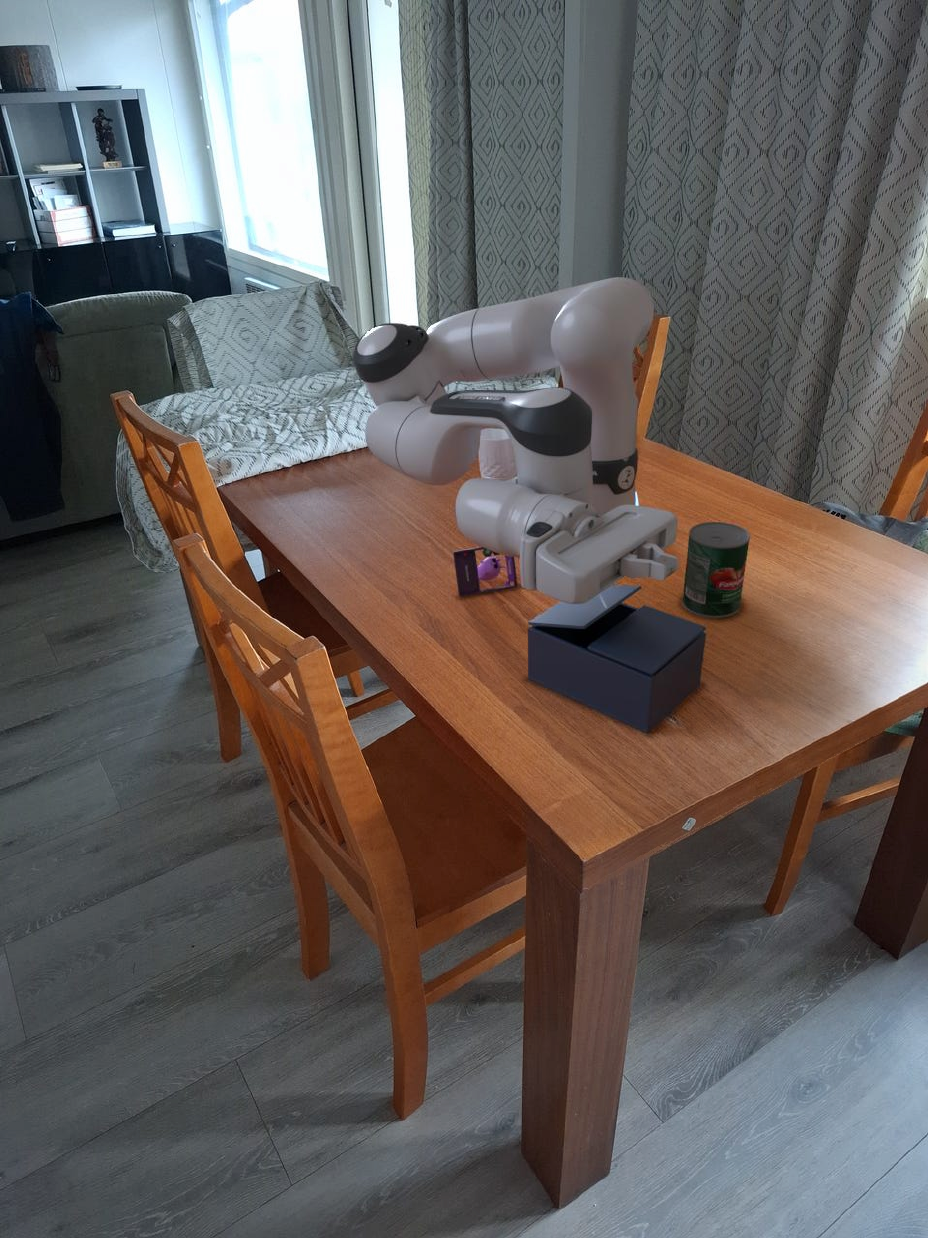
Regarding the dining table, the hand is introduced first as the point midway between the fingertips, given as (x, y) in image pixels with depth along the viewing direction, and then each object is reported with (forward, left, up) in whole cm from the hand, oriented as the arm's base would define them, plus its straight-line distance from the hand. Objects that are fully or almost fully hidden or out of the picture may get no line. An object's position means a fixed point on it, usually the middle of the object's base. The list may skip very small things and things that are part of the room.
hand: (671, 569), depth 88 cm
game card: (-36, +3, -18) cm, 40 cm away
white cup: (-66, +31, -18) cm, 75 cm away
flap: (-11, -2, -8) cm, 14 cm away
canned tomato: (-10, +23, -18) cm, 31 cm away
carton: (-6, -1, -18) cm, 19 cm away
